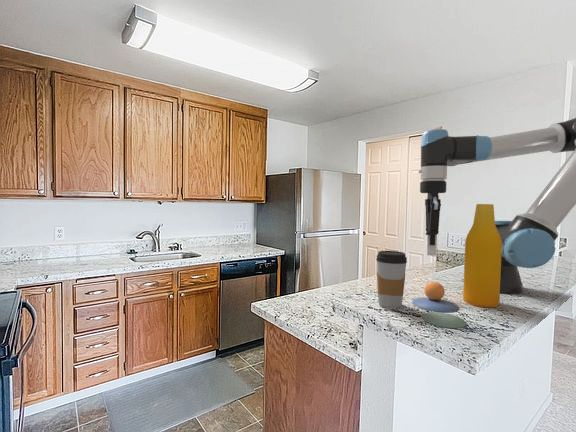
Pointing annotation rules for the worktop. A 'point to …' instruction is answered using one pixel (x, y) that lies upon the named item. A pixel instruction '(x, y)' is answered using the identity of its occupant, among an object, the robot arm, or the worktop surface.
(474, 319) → the worktop surface
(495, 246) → the beer bottle
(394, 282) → the coffee cup
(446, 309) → the disc
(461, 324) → the disc
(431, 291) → the ball
